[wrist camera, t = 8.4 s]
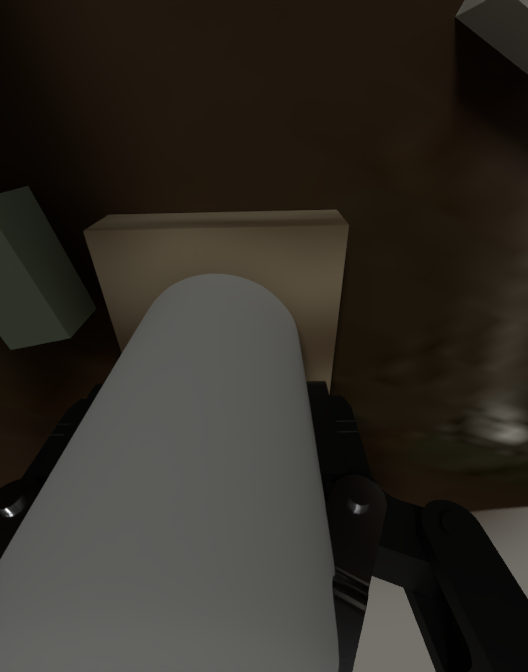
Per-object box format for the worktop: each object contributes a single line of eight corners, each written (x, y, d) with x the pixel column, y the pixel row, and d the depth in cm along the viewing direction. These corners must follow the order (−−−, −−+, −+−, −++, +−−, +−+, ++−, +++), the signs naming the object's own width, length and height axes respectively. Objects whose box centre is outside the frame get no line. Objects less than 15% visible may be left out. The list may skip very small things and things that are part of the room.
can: (323, 358, 15) (447, 854, 5) (208, 412, 17) (127, 850, 7) (242, 235, 12) (129, 877, 2) (113, 319, 14) (-287, 860, 4)
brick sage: (-31, 201, 15) (-92, 218, 12) (30, 184, 14) (-20, 199, 12) (46, 317, 18) (11, 349, 15) (98, 306, 17) (70, 338, 15)
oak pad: (108, 214, 15) (83, 231, 13) (336, 209, 15) (348, 225, 12) (154, 385, 20) (141, 417, 18) (320, 383, 20) (327, 414, 18)
